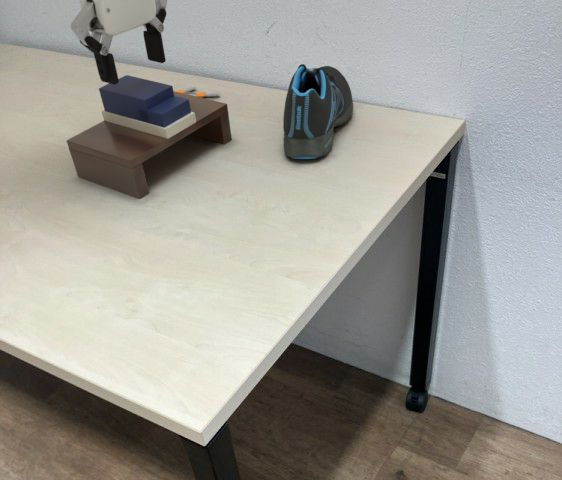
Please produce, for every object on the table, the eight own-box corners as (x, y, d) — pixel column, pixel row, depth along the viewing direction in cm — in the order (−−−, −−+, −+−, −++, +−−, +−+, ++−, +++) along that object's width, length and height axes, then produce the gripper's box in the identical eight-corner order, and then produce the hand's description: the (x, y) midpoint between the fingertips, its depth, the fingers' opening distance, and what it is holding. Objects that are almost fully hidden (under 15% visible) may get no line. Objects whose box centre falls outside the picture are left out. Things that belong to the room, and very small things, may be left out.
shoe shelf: (140, 198, 91) (130, 161, 87) (78, 176, 97) (66, 140, 93) (231, 139, 103) (227, 103, 98) (171, 123, 109) (164, 88, 105)
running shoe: (357, 95, 112) (359, 31, 104) (341, 165, 94) (341, 93, 86) (305, 95, 114) (303, 31, 106) (280, 163, 96) (274, 93, 88)
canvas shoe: (104, 120, 97) (95, 88, 93) (133, 105, 100) (125, 73, 97) (167, 139, 91) (160, 105, 87) (196, 122, 94) (190, 88, 91)
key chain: (158, 113, 112) (157, 109, 111) (146, 100, 116) (145, 96, 116) (222, 96, 115) (221, 92, 115) (207, 84, 120) (206, 80, 119)
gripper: (133, -84, 84) (156, 50, 96) (32, -59, 75) (72, 86, 87) (172, -80, 81) (191, 57, 93) (72, -54, 71) (108, 96, 84)
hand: (134, 71), depth 90 cm, fingers open, 9 cm apart
